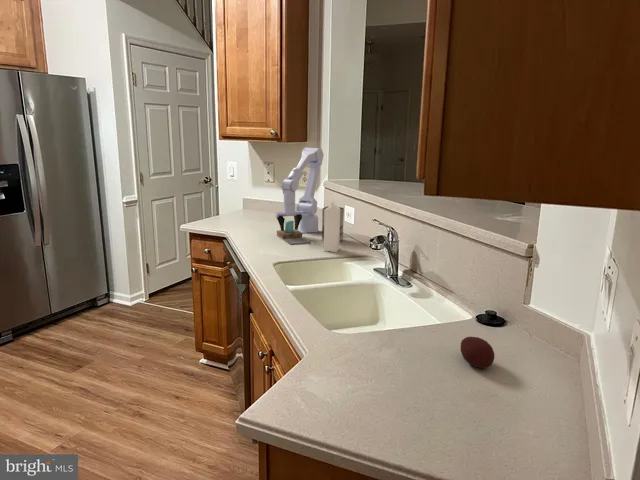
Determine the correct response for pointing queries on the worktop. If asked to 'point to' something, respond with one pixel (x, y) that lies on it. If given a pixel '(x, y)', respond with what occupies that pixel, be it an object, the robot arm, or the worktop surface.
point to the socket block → (289, 234)
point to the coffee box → (340, 223)
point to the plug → (289, 226)
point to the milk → (331, 228)
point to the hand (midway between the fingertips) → (289, 230)
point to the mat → (296, 241)
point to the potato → (477, 352)
